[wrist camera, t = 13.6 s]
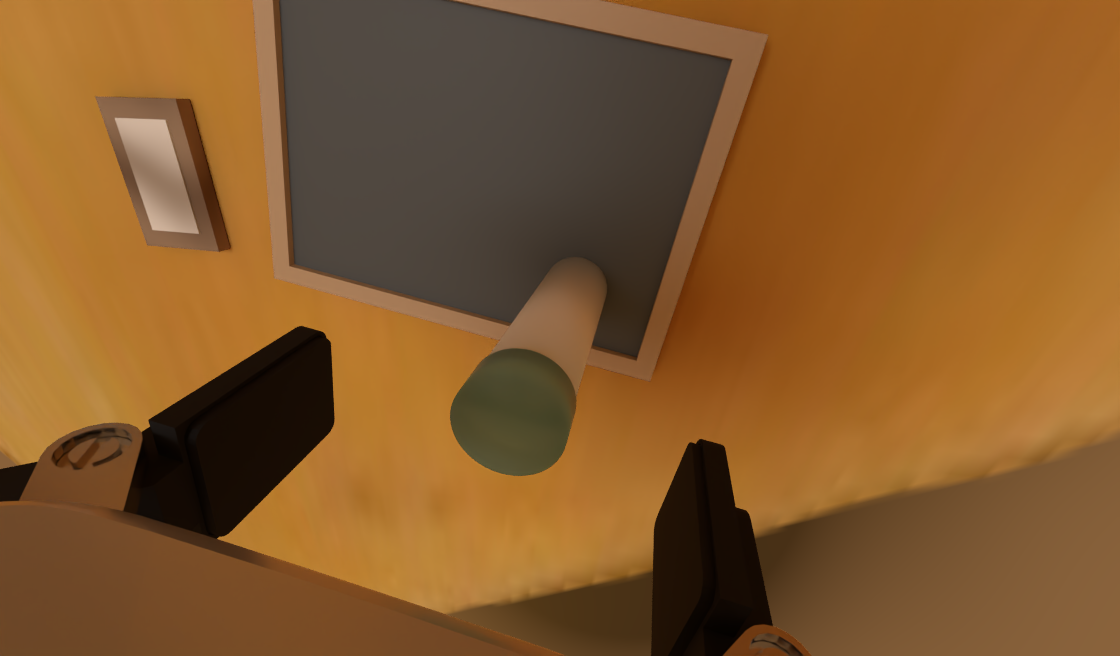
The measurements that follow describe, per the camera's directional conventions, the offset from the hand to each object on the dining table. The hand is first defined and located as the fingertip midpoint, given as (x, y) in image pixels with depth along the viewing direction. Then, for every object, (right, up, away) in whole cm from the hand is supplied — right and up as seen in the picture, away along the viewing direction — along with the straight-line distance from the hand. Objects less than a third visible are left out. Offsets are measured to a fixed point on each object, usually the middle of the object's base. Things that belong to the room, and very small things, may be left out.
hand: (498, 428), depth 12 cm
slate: (-2, +10, +12) cm, 15 cm away
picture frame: (-21, +11, +15) cm, 28 cm away
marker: (+2, +5, +12) cm, 13 cm away
